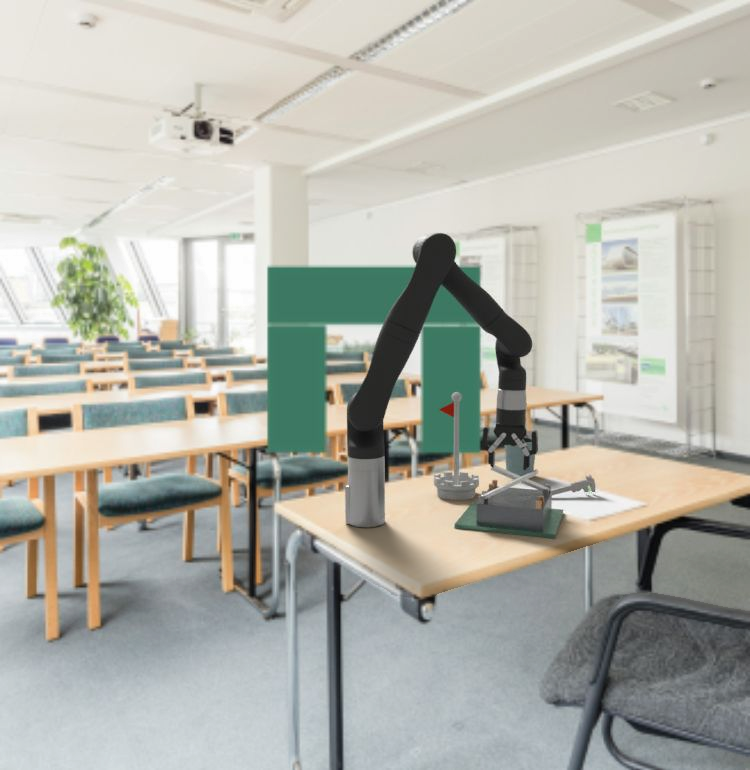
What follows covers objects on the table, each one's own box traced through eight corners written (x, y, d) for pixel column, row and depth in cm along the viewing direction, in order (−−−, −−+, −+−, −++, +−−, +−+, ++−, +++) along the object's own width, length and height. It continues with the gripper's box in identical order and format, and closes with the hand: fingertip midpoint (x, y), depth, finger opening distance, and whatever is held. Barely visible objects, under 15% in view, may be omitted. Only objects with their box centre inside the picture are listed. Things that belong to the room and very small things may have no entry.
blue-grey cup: (533, 472, 222) (534, 436, 221) (538, 480, 212) (538, 442, 211) (502, 472, 223) (502, 436, 222) (505, 479, 213) (505, 442, 212)
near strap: (481, 502, 167) (478, 497, 167) (483, 499, 170) (481, 494, 170) (537, 475, 161) (535, 470, 162) (539, 472, 164) (536, 468, 164)
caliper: (593, 495, 195) (593, 474, 195) (595, 496, 194) (595, 474, 194) (527, 499, 192) (527, 477, 191) (528, 500, 191) (528, 478, 190)
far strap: (548, 491, 176) (550, 487, 175) (547, 494, 173) (549, 490, 173) (492, 468, 180) (493, 464, 180) (490, 470, 178) (491, 466, 177)
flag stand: (477, 489, 203) (478, 389, 199) (480, 501, 190) (481, 394, 186) (433, 488, 204) (434, 389, 201) (433, 500, 191) (433, 394, 188)
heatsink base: (454, 527, 166) (454, 496, 166) (473, 504, 186) (473, 477, 185) (555, 538, 158) (555, 506, 157) (563, 513, 177) (564, 484, 177)
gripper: (480, 406, 174) (478, 468, 176) (537, 410, 169) (534, 473, 171) (486, 402, 181) (484, 462, 183) (541, 406, 176) (538, 467, 178)
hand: (508, 467), depth 177 cm, fingers open, 8 cm apart
